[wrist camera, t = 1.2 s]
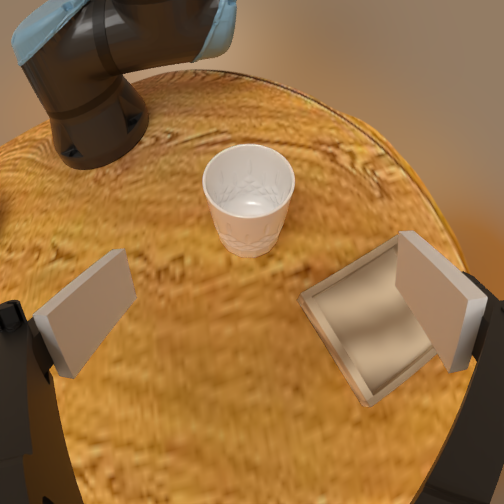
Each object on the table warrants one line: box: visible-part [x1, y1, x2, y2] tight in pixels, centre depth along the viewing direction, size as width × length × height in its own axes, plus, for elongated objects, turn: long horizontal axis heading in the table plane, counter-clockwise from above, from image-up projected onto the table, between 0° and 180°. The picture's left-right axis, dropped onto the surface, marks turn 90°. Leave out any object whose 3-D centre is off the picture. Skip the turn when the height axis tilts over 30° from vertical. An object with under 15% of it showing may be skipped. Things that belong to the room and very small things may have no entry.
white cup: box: [202, 144, 295, 258], centre depth 32 cm, size 8×8×10 cm
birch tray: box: [297, 234, 437, 407], centre depth 31 cm, size 13×13×2 cm
